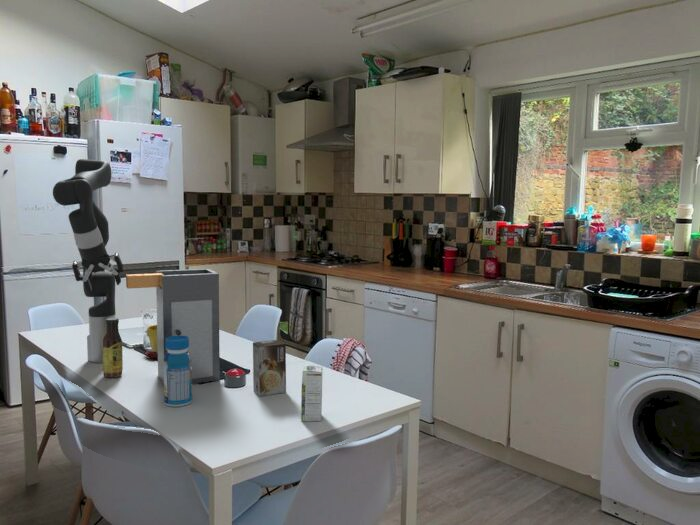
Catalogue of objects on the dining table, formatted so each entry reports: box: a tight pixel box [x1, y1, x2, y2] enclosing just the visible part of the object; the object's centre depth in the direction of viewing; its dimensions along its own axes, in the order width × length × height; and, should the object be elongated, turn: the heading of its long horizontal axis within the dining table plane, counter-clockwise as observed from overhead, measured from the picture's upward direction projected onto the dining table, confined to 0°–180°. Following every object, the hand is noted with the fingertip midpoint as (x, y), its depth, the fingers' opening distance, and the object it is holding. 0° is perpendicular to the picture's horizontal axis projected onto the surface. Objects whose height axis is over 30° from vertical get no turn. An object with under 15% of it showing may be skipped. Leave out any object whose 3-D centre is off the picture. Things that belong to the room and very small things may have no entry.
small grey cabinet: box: [155, 268, 221, 386], centre depth 197 cm, size 18×16×36 cm
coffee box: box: [252, 339, 287, 397], centre depth 186 cm, size 9×6×16 cm
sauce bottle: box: [102, 317, 124, 379], centre depth 199 cm, size 6×6×20 cm
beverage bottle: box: [163, 335, 193, 408], centre depth 175 cm, size 8×8×20 cm
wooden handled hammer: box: [125, 272, 205, 289], centre depth 193 cm, size 26×9×4 cm, turn 116°
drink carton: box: [300, 365, 323, 422], centre depth 165 cm, size 6×6×14 cm
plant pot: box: [146, 324, 158, 352], centre depth 232 cm, size 10×10×10 cm
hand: (104, 286), depth 187 cm, fingers open, 8 cm apart
